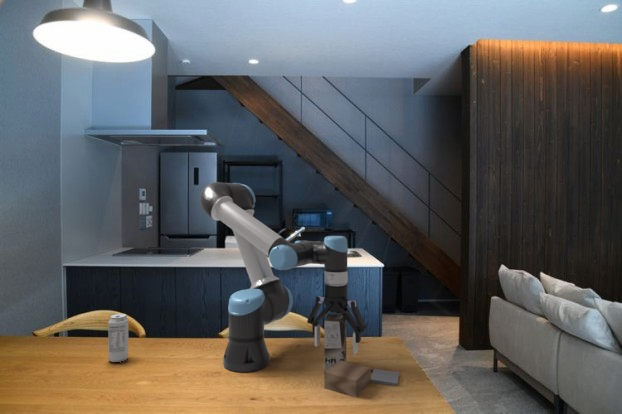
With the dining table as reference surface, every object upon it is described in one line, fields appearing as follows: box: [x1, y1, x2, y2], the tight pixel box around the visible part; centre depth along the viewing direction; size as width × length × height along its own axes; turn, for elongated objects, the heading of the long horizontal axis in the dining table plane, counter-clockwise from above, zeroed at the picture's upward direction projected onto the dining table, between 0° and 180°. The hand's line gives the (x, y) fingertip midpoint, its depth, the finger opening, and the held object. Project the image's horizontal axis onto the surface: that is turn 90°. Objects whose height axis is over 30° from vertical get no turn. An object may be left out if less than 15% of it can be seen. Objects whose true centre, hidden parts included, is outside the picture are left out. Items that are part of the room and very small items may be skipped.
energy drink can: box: [107, 313, 129, 363], centre depth 133 cm, size 6×6×15 cm
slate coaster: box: [371, 368, 401, 387], centre depth 120 cm, size 8×8×1 cm
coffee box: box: [323, 312, 347, 372], centre depth 129 cm, size 9×6×16 cm
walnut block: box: [323, 361, 372, 398], centre depth 115 cm, size 10×10×5 cm
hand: (336, 348), depth 129 cm, fingers open, 13 cm apart
